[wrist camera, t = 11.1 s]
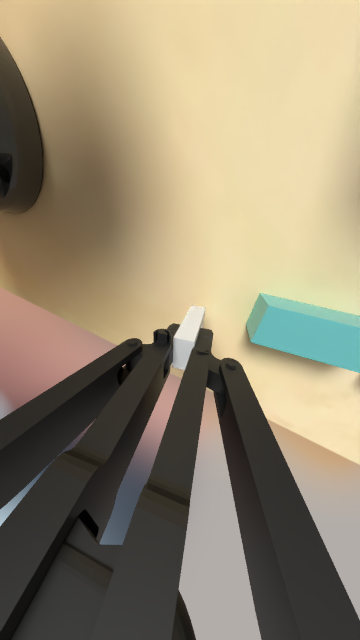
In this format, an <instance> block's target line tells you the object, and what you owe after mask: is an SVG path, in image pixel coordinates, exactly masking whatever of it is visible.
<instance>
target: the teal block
mask: <svg viewBox="0 0 360 640" xmlns="http://www.w3.org/2000/svg"><path fill="white" fill-rule="evenodd" d="M246 326H247V330H248V334H249V338H250V342H251V343H255V344H259V345H262V346H266V347H269V348H273V349H276V350H280V351H284V352H287V353H291V354H294V355H298V356H301V357H305V358H308V359H312V360H316V361H319V362H323V363H326V364H330V365H333V366H337V367H341V368H344V369H348V370H351V371H355V372H358V373H360V316H358V315H353V314H349V313H345V312H340V311H336V310H332V309H327V308H323V307H319V306H314V305H310V304H306V303H301V302H297V301H293V300H288V299H284V298H280V297H275V296H271V295H267V294H262V293H260V294H259V296H258V299H257V301H256V303H255V305H254V308H253V310H252V312H251V314H250V317H249V319H248V321H247V323H246Z"/></svg>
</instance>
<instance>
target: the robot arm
mask: <svg viewBox="0 0 360 640" xmlns="http://www.w3.org/2000/svg"><path fill="white" fill-rule="evenodd" d="M42 171H43V159H42V147H41V140H40V134H39V129H38V125H37V120H36V117H35V113H34V109H33V106H32V103H31V100H30V97H29V94H28V92H27V89H26V86H25V84H24V81H23V79H22V77H21V75H20V72H19V70H18V68H17V66H16V64H15V62H14V60H13V58H12V56H11V54H10V52H9V51H8V49H7V47H6V46H5V44H4V42H3V41H2V39H1V38H0V212H7V213H21V212H23V211H26V210H27V209H28V208H30V207H31V206H32V204H33V203H34V202H35V200H36V198H37V196H38V193H39V190H40V186H41V181H42ZM205 309H206V307H200V306H193V305H192V306H191V308H190V309H189V311H188V313H187V315H186V316H185V318H184V320H183V322H182V323H181V325H179V324H174V323H173V324H171V325H170V326H169V327H168V328H167V330H166V329H158V330H155V331H154V342H153V343H152V344H142V341H141V340H140V339H136V338H132V339H128V340H126V341H124V342H123V343H121V344H120V345H118V346H116V347H115V348H113V349H112V350H110V351H109V352H107V353H105V354H104V355H102V356H101V357H99V358H97V359H96V360H94V361H93V362H91V363H90V364H88V365H86V366H85V367H83V368H82V369H80V370H78V371H77V372H75V373H74V374H72V375H70V376H69V377H67V378H66V379H64V380H63V381H61V382H59V383H58V384H56V385H55V386H53V387H52V388H50V389H48V390H47V391H45V392H43V393H42V394H40V395H39V396H37V397H36V398H34V399H32V400H31V401H30V402H28V403H26V404H24V405H23V406H21V407H20V408H18V409H16V410H15V411H13V412H12V413H10V414H9V415H7V416H5V417H4V418H2V419H1V420H0V509H1V508H2V507H4V506H5V505H6V504H7V503H8V502H9V501H10V500H11V499H13V498H14V497H15V496H16V495H17V494H18V493H19V492H20V491H21V490H22V489H24V488H25V487H26V486H27V485H28V484H29V483H30V482H31V481H32V480H33V479H34V478H35V477H36V476H37V475H38V474H39V473H40V472H41V471H42V470H43V469H44V468H45V467H46V466H47V465H48V464H49V463H50V462H51V461H53V459H55V458H56V457H57V455H59V454H60V453H61V452H62V451H63V450H64V449H65V448H66V447H67V446H68V445H69V444H70V443H71V442H72V441H73V440H74V439H75V438H76V437H77V436H78V435H79V434H80V433H81V432H83V431H84V430H85V428H87V427H88V426H89V425H90V424H91V423H92V422H93V421H94V420H95V419H96V420H95V421H94V422H93V424H92V425H91V426H90V428H89V429H88V430H87V432H86V433H85V434H84V436H83V437H82V438H81V440H80V441H79V442H78V444H77V445H76V446H75V447H74V448H73V449H71V450H69V451H66V452H63V453H62V454H61V455H59V456H58V457H57V458H56V459H55V460H54V461H53V462H52V463H51V464H50V465H49V467H48V468H47V469H46V470H45V471H44V473H43V474H42V475H41V477H40V478H39V479H38V480H37V481H36V483H35V484H34V485H33V487H32V488H31V489H30V490H29V491H28V493H27V494H26V495H25V497H24V498H23V499H22V500H21V501H20V503H19V504H18V505H17V506H16V508H15V509H14V510H13V511H12V513H11V514H10V515H9V517H8V518H7V519H6V520H5V521H4V523H3V524H2V525H1V526H0V640H196V638H195V634H194V630H193V627H192V623H191V620H190V617H189V614H188V612H187V608H186V605H185V603H184V600H183V598H182V596H181V594H180V592H179V590H178V588H179V581H180V573H181V566H182V559H183V552H184V545H185V538H186V531H187V523H188V515H189V507H190V496H191V489H192V482H193V475H194V468H195V461H196V454H197V447H198V440H199V433H200V425H201V418H202V412H203V405H204V398H205V391H206V387H208V388H210V389H211V390H213V391H214V397H215V403H216V408H217V413H218V418H219V424H220V428H221V433H222V439H223V444H224V449H225V454H226V460H227V465H228V470H229V476H230V480H231V486H232V491H233V497H234V501H235V507H236V512H237V517H238V523H239V528H240V533H241V538H242V543H243V549H244V554H245V559H246V564H247V569H248V575H249V580H250V585H251V590H252V595H253V601H254V605H255V611H256V616H257V620H258V625H259V630H260V634H261V639H262V640H360V620H359V618H358V616H357V613H356V612H355V609H354V607H353V605H352V603H351V600H350V599H349V596H348V594H347V592H346V590H345V588H344V585H343V583H342V581H341V579H340V577H339V575H338V572H337V571H336V568H335V566H334V564H333V562H332V559H331V557H330V555H329V553H328V551H327V549H326V547H325V545H324V542H323V540H322V538H321V536H320V534H319V532H318V529H317V527H316V525H315V523H314V521H313V519H312V516H311V514H310V512H309V510H308V508H307V506H306V504H305V501H304V499H303V497H302V495H301V493H300V491H299V488H298V486H297V484H296V482H295V480H294V478H293V476H292V473H291V471H290V469H289V467H288V465H287V462H286V460H285V458H284V456H283V454H282V452H281V450H280V447H279V445H278V443H277V441H276V439H275V437H274V435H273V432H272V430H271V428H270V426H269V424H268V422H267V419H266V417H265V415H264V413H263V411H262V408H261V406H260V404H259V402H258V400H257V398H256V396H255V393H254V391H253V389H252V387H251V385H250V383H249V380H248V378H247V376H246V374H245V372H244V370H243V367H242V366H241V364H240V363H239V362H238V361H236V360H234V359H231V358H224V359H222V360H219V359H217V358H215V357H214V356H213V355H212V353H211V346H212V339H213V332H212V330H209V329H203V322H204V316H205ZM125 364H126V365H125ZM171 364H172V367H175V368H179V369H183V370H185V371H184V374H183V377H182V380H181V384H180V387H179V389H178V393H177V395H176V399H175V401H174V404H173V408H172V411H171V414H170V417H169V420H168V423H167V426H166V429H165V432H164V435H163V438H162V441H161V444H160V447H159V450H158V453H157V456H156V459H155V462H154V465H153V468H152V471H151V474H150V476H149V479H148V481H147V483H146V485H145V486H144V488H143V490H142V492H141V494H140V497H139V500H138V502H137V505H136V508H135V511H134V513H133V516H132V519H131V522H130V525H129V528H128V531H127V534H126V537H125V539H124V542H123V545H100V543H99V542H100V540H101V538H102V535H103V533H104V531H105V528H106V526H107V523H108V521H109V519H110V516H111V513H112V510H113V507H114V504H115V499H116V495H117V492H118V489H119V487H120V484H121V482H122V480H123V477H124V475H125V473H126V471H127V468H128V466H129V464H130V461H131V459H132V457H133V455H134V452H135V450H136V448H137V446H138V443H139V441H140V439H141V436H142V434H143V432H144V430H145V427H146V425H147V423H148V420H149V418H150V416H151V414H152V411H153V409H154V407H155V404H156V402H157V400H158V397H159V395H160V393H161V391H162V388H163V386H164V384H165V382H166V379H167V377H168V375H169V373H170V366H171ZM123 365H125V366H124V367H122V366H123Z"/></svg>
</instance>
